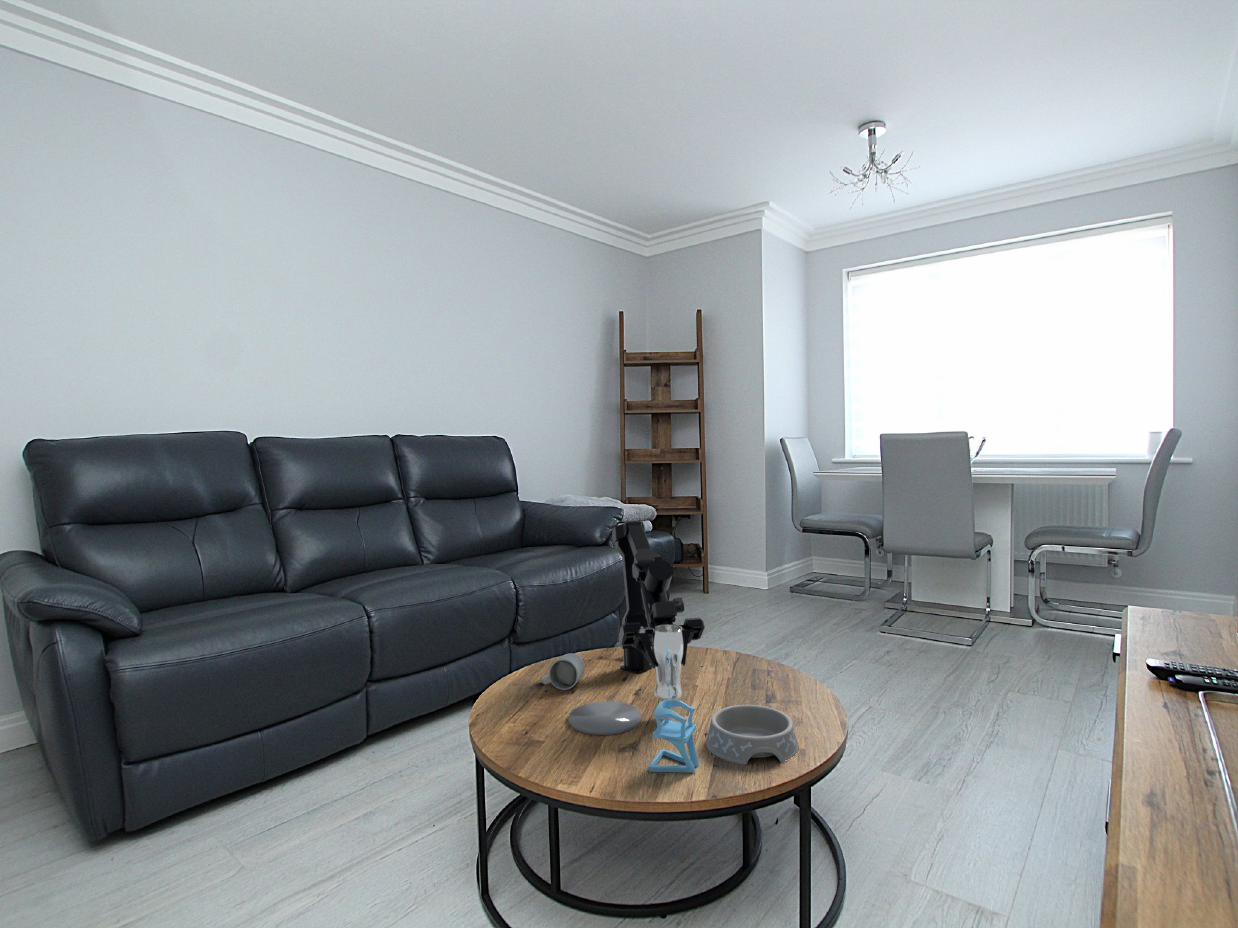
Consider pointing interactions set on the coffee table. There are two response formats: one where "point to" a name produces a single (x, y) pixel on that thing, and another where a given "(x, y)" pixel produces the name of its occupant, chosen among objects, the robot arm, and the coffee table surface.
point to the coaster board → (605, 718)
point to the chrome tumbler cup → (667, 660)
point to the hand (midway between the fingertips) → (669, 666)
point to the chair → (675, 737)
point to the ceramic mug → (565, 671)
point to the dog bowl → (751, 734)
